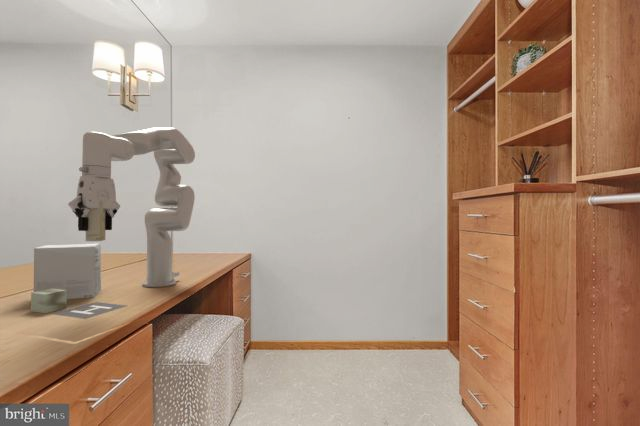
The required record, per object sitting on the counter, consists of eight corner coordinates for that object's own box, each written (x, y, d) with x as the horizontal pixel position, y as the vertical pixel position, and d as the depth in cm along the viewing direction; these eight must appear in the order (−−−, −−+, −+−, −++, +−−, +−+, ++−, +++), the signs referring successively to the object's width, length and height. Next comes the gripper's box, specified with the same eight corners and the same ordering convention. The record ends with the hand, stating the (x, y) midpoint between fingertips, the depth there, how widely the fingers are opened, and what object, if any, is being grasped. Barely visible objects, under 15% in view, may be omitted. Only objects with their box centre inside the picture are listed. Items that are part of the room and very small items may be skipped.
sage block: (52, 307, 106) (52, 288, 106) (66, 309, 105) (66, 290, 105) (30, 313, 101) (31, 292, 101) (45, 315, 99) (45, 294, 99)
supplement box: (101, 290, 130) (102, 243, 130) (95, 298, 118) (95, 246, 118) (44, 294, 123) (45, 244, 123) (32, 303, 111) (32, 247, 111)
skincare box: (101, 241, 104) (102, 201, 104) (84, 241, 102) (85, 200, 102) (105, 240, 110) (106, 202, 110) (89, 240, 108) (89, 201, 108)
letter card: (96, 303, 111) (96, 302, 111) (128, 307, 107) (128, 305, 107) (51, 315, 98) (51, 313, 98) (85, 320, 94) (85, 318, 94)
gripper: (78, 168, 97) (76, 231, 97) (129, 176, 113) (128, 229, 113) (59, 169, 99) (57, 231, 99) (112, 176, 116) (111, 229, 116)
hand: (95, 229), depth 106 cm, fingers closed on skincare box, 7 cm apart
